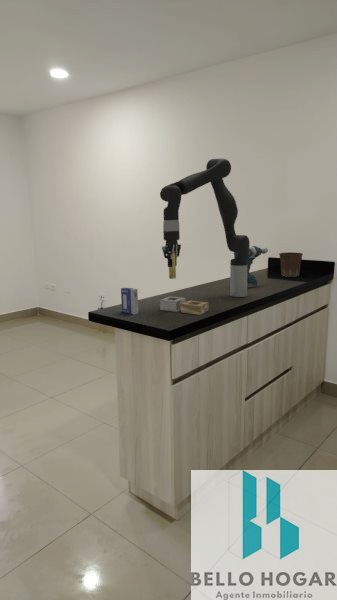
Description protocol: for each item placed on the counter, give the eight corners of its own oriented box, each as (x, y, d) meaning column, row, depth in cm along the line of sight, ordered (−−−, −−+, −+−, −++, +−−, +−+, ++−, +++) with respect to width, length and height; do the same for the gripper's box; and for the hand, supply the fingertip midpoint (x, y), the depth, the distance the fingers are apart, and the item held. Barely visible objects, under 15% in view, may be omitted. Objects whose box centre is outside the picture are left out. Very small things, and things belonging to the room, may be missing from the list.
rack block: (190, 308, 201) (190, 300, 200) (208, 310, 195) (208, 302, 195) (180, 312, 193) (180, 304, 192) (199, 314, 188) (199, 306, 187)
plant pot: (293, 278, 282) (294, 255, 278) (273, 276, 294) (274, 253, 290) (306, 276, 292) (307, 253, 289) (286, 273, 304) (287, 252, 301)
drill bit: (171, 277, 200) (170, 252, 197) (177, 277, 198) (176, 252, 195) (167, 278, 197) (167, 253, 194) (173, 278, 195) (173, 253, 193)
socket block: (169, 306, 207) (169, 296, 205) (185, 307, 202) (185, 298, 201) (160, 309, 199) (160, 299, 198) (176, 311, 194) (176, 301, 193)
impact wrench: (269, 286, 255) (270, 245, 250) (237, 289, 247) (238, 247, 242) (262, 284, 262) (263, 244, 257) (231, 287, 254) (231, 246, 249)
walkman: (121, 312, 195) (120, 287, 193) (125, 311, 198) (124, 286, 195) (134, 314, 191) (133, 289, 189) (138, 313, 193) (137, 288, 191)
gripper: (172, 229, 200) (173, 264, 204) (156, 230, 189) (157, 268, 192) (185, 229, 197) (186, 265, 200) (170, 230, 185) (171, 268, 188)
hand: (172, 266), depth 196 cm, fingers closed on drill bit, 3 cm apart
